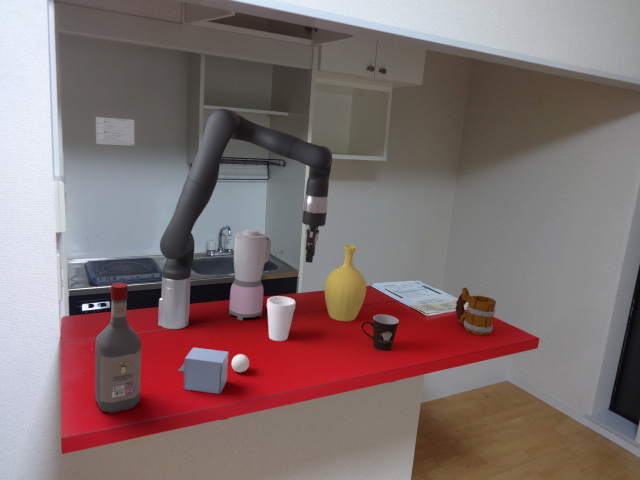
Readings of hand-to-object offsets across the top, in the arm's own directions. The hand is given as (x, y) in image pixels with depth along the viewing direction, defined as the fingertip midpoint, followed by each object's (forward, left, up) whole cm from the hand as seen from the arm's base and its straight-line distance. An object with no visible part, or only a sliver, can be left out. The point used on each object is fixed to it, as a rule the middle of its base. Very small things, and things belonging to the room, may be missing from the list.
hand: (310, 258), depth 162 cm
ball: (-15, -26, -26) cm, 40 cm away
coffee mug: (+26, +4, -29) cm, 39 cm away
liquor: (-40, -49, -29) cm, 70 cm away
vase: (+13, +28, -29) cm, 42 cm away
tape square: (-27, -26, -29) cm, 47 cm away
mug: (+64, +32, -29) cm, 77 cm away
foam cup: (-8, +1, -29) cm, 30 cm away
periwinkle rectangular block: (-22, -36, -29) cm, 51 cm away
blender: (-22, +19, -29) cm, 41 cm away
